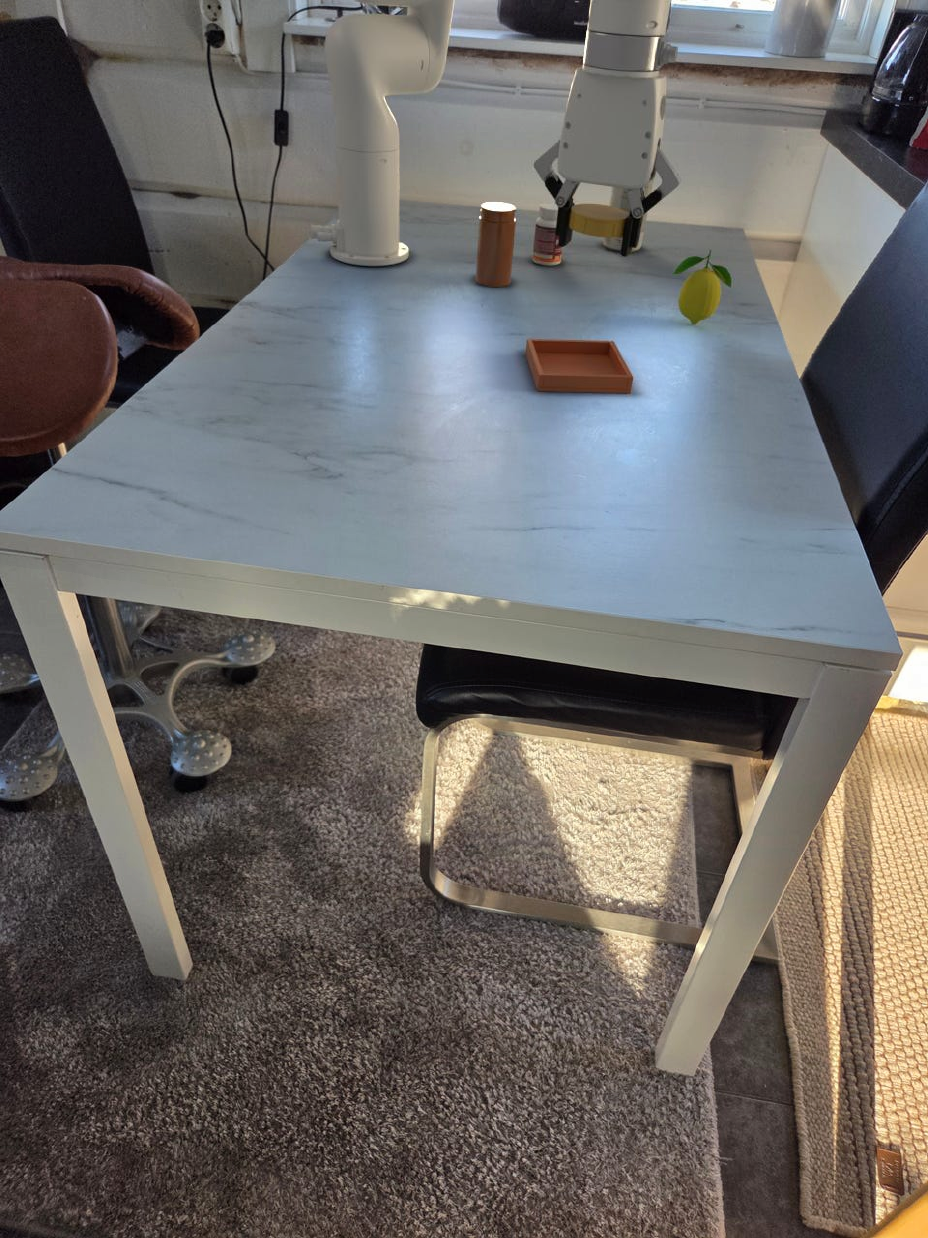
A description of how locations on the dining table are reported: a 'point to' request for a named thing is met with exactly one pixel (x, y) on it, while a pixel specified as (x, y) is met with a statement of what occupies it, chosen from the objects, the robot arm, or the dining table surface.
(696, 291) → the lemon
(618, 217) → the jar lid
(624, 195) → the spray can
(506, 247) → the brown jar
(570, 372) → the tray
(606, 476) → the dining table surface
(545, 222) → the pill bottle
